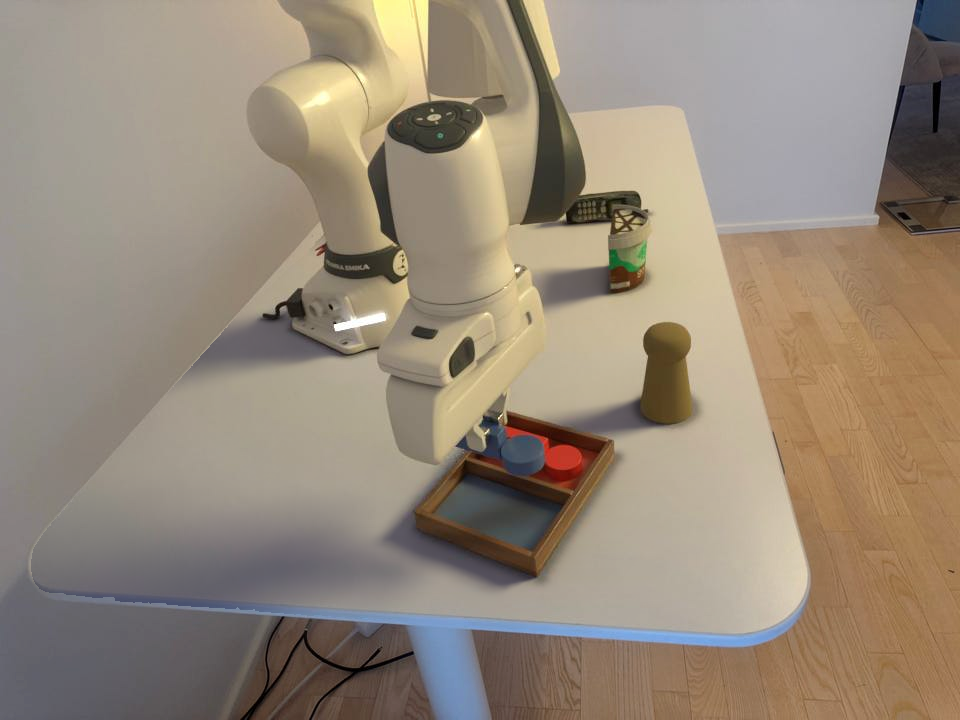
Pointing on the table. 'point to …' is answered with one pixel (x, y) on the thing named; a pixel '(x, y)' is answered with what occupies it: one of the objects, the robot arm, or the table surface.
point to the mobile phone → (600, 206)
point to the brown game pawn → (666, 374)
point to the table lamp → (474, 56)
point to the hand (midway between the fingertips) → (488, 436)
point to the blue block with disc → (511, 450)
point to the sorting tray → (514, 500)
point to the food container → (627, 247)
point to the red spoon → (556, 457)
